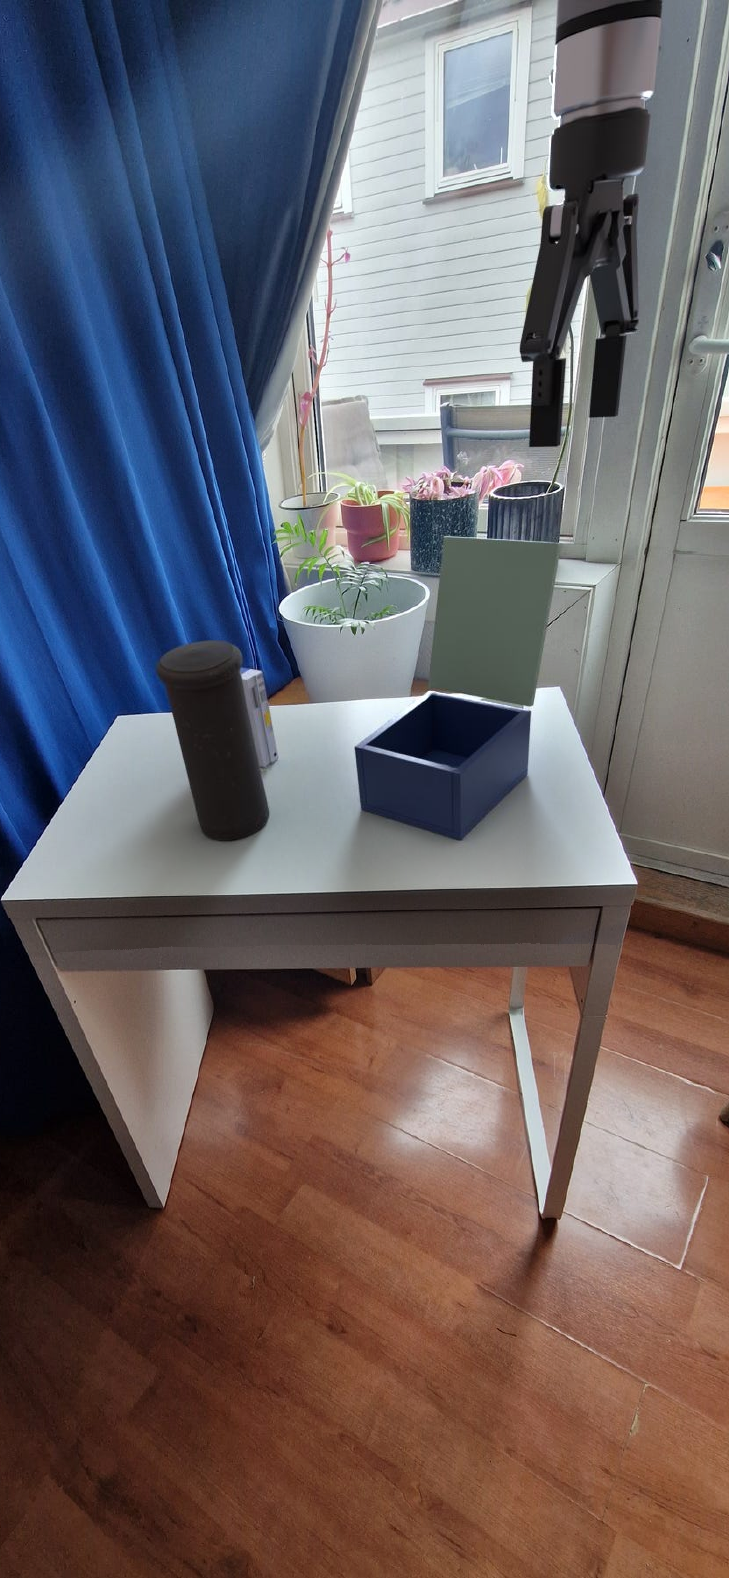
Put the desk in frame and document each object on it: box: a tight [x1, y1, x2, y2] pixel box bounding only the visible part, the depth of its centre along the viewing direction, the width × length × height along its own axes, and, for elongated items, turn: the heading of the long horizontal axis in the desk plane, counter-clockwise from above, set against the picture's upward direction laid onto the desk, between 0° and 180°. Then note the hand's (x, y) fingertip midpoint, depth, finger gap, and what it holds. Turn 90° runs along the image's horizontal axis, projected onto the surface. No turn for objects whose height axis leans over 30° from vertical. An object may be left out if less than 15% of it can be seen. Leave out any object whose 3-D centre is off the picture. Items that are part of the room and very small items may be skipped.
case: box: [354, 690, 532, 841], centre depth 83 cm, size 15×13×8 cm
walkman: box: [240, 666, 279, 768], centre depth 94 cm, size 8×3×12 cm, turn 52°
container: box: [156, 639, 270, 841], centre depth 80 cm, size 9×9×20 cm
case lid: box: [427, 535, 563, 707], centre depth 80 cm, size 16×13×1 cm
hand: (575, 431), depth 73 cm, fingers open, 12 cm apart
